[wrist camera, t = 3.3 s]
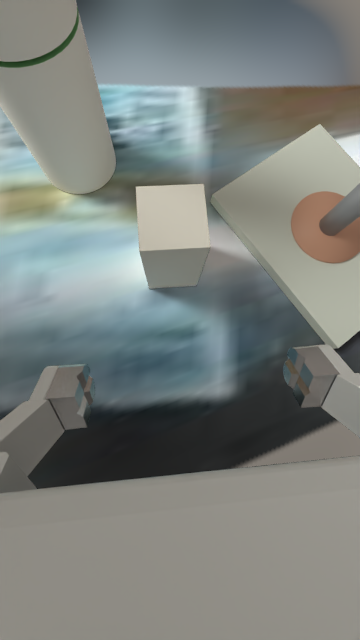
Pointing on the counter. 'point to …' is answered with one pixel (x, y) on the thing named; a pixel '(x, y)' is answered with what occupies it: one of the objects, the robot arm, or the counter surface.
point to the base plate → (304, 229)
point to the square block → (172, 233)
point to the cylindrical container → (54, 93)
